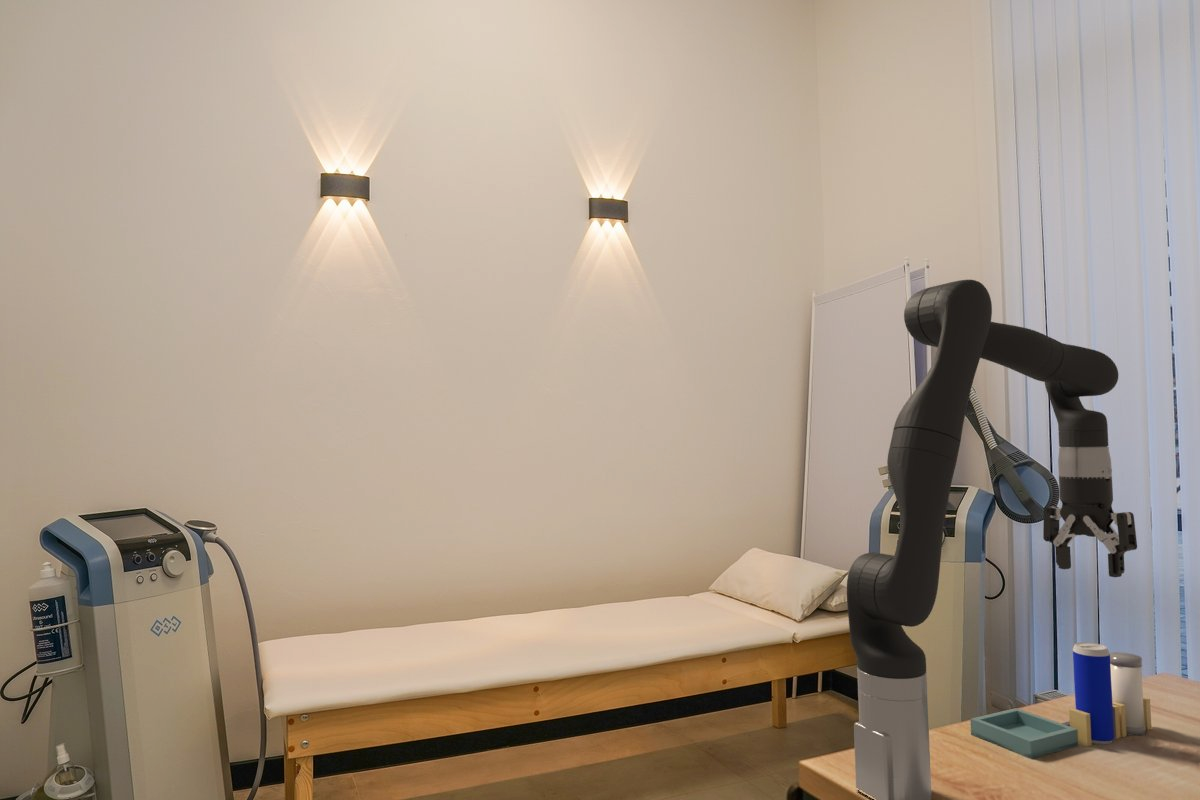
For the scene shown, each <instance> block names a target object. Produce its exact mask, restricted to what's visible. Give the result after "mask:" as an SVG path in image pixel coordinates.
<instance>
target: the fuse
mask: <svg viewBox="0 0 1200 800" xmlns="http://www.w3.org/2000/svg"><path fill="white" fill-rule="evenodd" d="M1109 653H1110V666H1111V685H1112V701H1113V702H1117V703H1120V704H1123V705H1125V715H1126V734H1127V735H1128V736H1129V735H1130V736H1144V735H1146V728H1145V723H1144V705H1143V697H1144V691H1143V690H1144V689H1143V672H1142V671H1143V670H1142V666H1143V658H1142V657H1141V656H1140V655H1137V654H1133V653H1127V652H1109Z"/></svg>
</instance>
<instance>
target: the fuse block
mask: <svg viewBox="0 0 1200 800" xmlns="http://www.w3.org/2000/svg"><path fill="white" fill-rule="evenodd" d="M1112 704H1113V723H1114V739H1120V738H1121V737H1122V738H1124V737H1126V736H1127V735H1128V734H1126V715H1125V705H1123V704H1120V703H1117V702H1113V701H1112ZM1143 705H1144V723H1145V728H1146V730H1147V731H1149V730H1152V712H1151V698H1149V697H1146V696H1143ZM1068 713H1069V717H1068V718H1069V721H1065V722H1061V724H1064V725H1067V726H1070V727H1073V728H1075V729H1077V730H1078V745H1080V746H1081V745H1082V746H1085V747H1091V746H1092V745H1093V743H1091V724H1090V714H1089V713H1086V712H1083V711H1080V710H1077V709H1076V708H1070V709H1068Z"/></svg>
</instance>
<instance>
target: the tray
mask: <svg viewBox="0 0 1200 800" xmlns="http://www.w3.org/2000/svg"><path fill="white" fill-rule="evenodd" d="M1061 723H1062V722H1061ZM1061 723H1060V722H1058V721H1055V720H1052V719H1049V718H1046V717H1043V716H1040V715H1037V714H1034V713H1032V712H1029V711H1025V710H1023V709H1020V708H1018V707H1016V708H1011V709H1007V710H1002V711H998V712H993V713H989V714H985V715H982V716H981V715H980V716H977V717H972V718H970V734H971V736H974V737H976V738H979V739H982V740H984V741H986V742H989V743H991V744H994V745H995V746H996V745H997V746H998V747H1001V748H1004V749H1006V750H1008V751H1011V752H1014V753H1016V754H1018V755H1021V756H1023V757H1025V758H1028V759H1034V758H1039V757H1042V756H1045V755H1050V754H1053V753H1054V754H1055V753H1057V752H1060V751H1063V750H1067V749H1070V748H1076V747H1079V743H1078V730H1077V729H1075V728H1073V727H1070V726H1067V725H1064V724H1061Z"/></svg>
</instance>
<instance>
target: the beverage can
mask: <svg viewBox="0 0 1200 800" xmlns="http://www.w3.org/2000/svg"><path fill="white" fill-rule="evenodd" d="M1110 653H1111V652H1110V651H1109V649H1108V647H1107V646H1106V645H1103V644H1100V643H1095V642H1076V643H1075V644H1074V646H1073V647H1072V657H1073V658H1072V662H1073V681H1074V683H1073V684H1074V698H1075V699H1074V700H1075V704H1074V705H1075V709H1077V710H1080V711H1083V712H1086V713H1089V714H1090V724H1091V744H1095V745H1109V744H1111V743H1112V742H1113V741H1114V740H1115V738H1114V723H1113V704H1112V685H1111V666H1110Z"/></svg>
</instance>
